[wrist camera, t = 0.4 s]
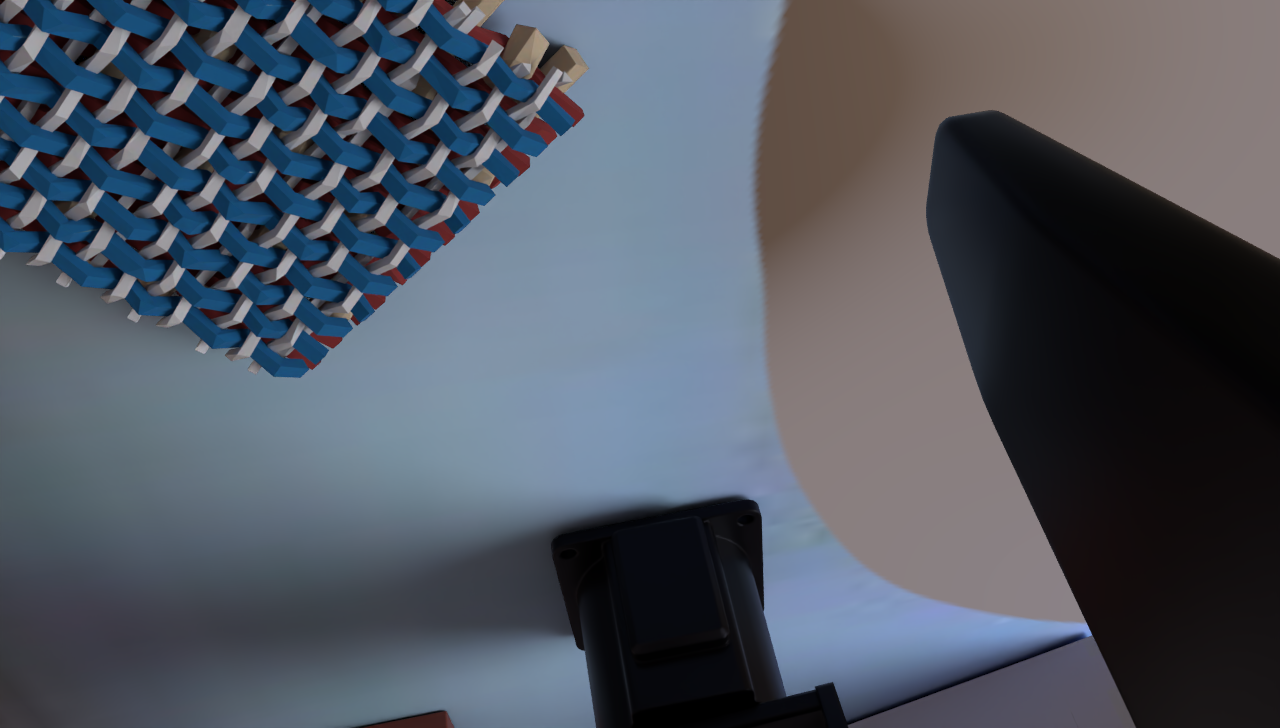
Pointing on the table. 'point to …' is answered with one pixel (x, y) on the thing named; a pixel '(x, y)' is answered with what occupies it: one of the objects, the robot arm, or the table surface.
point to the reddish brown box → (419, 722)
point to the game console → (1023, 697)
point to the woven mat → (262, 153)
